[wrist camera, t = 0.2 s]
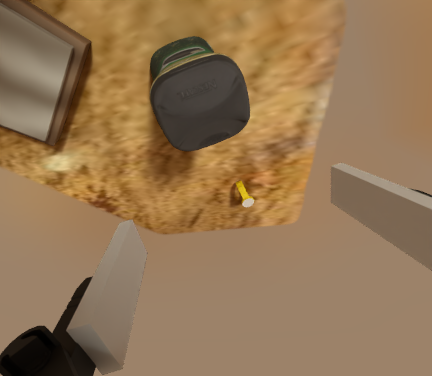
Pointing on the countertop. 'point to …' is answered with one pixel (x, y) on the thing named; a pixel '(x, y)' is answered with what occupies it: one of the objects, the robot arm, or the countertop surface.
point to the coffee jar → (197, 94)
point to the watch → (244, 195)
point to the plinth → (37, 70)
